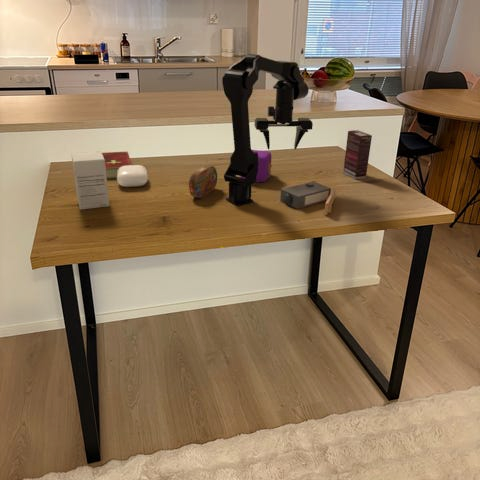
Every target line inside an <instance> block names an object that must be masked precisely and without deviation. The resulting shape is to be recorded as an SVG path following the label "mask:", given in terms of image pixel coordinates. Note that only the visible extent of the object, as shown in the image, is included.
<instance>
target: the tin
mask: <svg viewBox="0 0 480 480" xmlns="http://www.w3.org/2000/svg"><path fill="white" fill-rule="evenodd" d="M217 183H218V173H217V168H216V167H215V166H213V165H205V166H203V167H201V168H200V169H198V170H196V171H194V172H193V173H192V174H191V175H190V178H189V180H188V188H189V193H190V195H191V197H192V198H198V199H202V197H203V198H204V197H206V196H207V195H208V194H210V193H211V192H213V191H214V190H215V189H216V187H217Z"/></svg>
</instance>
